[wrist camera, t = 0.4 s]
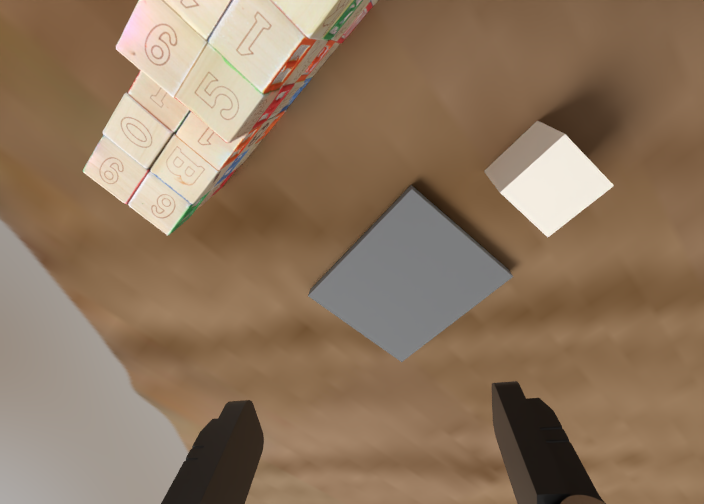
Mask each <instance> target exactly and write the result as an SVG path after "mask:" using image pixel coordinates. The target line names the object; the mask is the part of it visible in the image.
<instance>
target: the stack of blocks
mask: <svg viewBox="0 0 704 504" xmlns="http://www.w3.org/2000/svg"><path fill="white" fill-rule="evenodd" d="M377 1H378V0H138V2H137V4H136V6H135V9H134V11H133V13H132V15H131V17H130V19H129V21H128V23H127V25H126V26H125V29H124V31H123V33H122V35H121V37H120V39H119V41H118V43H117V45H116V50H117V51H119V52H120V53H121V54H122V55H123V56H125V57H126V58H127V59H128V60H129V61H131V62H132V63H133V64H134V65H135V66H136V67H138V68H139V69H140V71H139V73H138V75H137V77H136V78H135V80H134V82H133V83H132V85H131V87H130V89H129V91H128V92H126V93H125V94H124V96H123V97H122V99H121V101H120V102H119V104H118V106H117V108H116V109H115V111H114V113H113V115H112V116H111V118H110V120H109V122H108V123H107V125H106V127H105V129H104V130H103V137H102V138H101V140H100V141H99V143H98V145H97V146H96V148H95V150H94V152H93V153H92V155H91V156H90V158H89V160H88V162H87V164H86V165H85V167H84V169H83V172H84V173H85V174H86V175H88V176H89V177H90V178H92V179H93V180H94V181H95V182H97V183H98V184H99V185H101V186H102V187H103V188H105V189H106V190H107V191H109V192H110V193H111V194H112V195H114V196H115V197H116V198H118V199H119V200H120V201H122V202H123V203H125V204H128V205H129V206H130V207H131V208H132V209H134V210H135V211H136V212H137V213H139V214H140V215H141V216H143V217H144V218H145V219H147V220H148V221H149V222H151V223H152V224H153V225H155V226H156V227H157V228H159V229H160V230H161V231H163V232H164V233H165V234H167V235H170V234H171V233H172V232H173V231H175V230H176V229H177V228H178V227H179V226H181V225H182V224H183V223H184V222H185V221H186V220H188V219H189V218H190V216H191V215H192V214H193V213H194V211H196V210H197V209H198V208H199V207H201V206H202V205H203V204H204V203H205V202H206V201H207V200H208V199H209V198H210V197H211V196H213V195H214V194H215V193H216V192H217V191H219V190H220V189H221V188H222V187H223V185H224V184H225V183H226V182H227V180H228V179H229V178H230V177H231V175H232V174H233V173H234V172H235V170H236V169H237V168H238V167H239V166H240V165H241V164H243V162H244V161H245V160H246V159H247V158H248V156H249V155H250V154H251V153H252V151H253V150H254V149H255V148H256V147H257V145H258V144H259V143H260V142H261V141H262V139H263V138H264V137H265V136H266V135H267V133H268V132H269V131H270V130H271V129H272V127H273V126H274V125H275V124H276V123H277V121H278V120H279V119H280V118H281V117H282V115H283V114H284V113H285V112H286V110H287V108H288V106H289V105H290V104H291V103H292V102H293V100H294V99H295V98H296V97H297V96H298V94H299V93H300V92H301V91H302V90H303V88H304V87H305V86H306V85H307V84H308V82H309V81H310V80H311V78H312V77H313V76H314V75H315V74H316V72H317V71H318V70H319V69H320V67H321V66H322V65H323V64H324V63H325V61H326V60H327V59H328V58H329V57H330V55H331V54H332V53H333V52H334V51H335V49H336V48H337V47H338V46H339V44H340V43H342V42H343V41H344V40H345V39H346V38H347V37H348V35H349V34H350V33H351V32H352V31H353V29H354V28H355V27H356V26H357V24H358V23H359V22H360V21H361V20H362V19H363V17H364V16H365V15H366V14H367V13H368V11H369V10H370V9H371V8H372V7H373V6H374V5H375V4H376V3H377Z"/></svg>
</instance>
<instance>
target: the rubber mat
mask: <svg viewBox="0 0 704 504" xmlns="http://www.w3.org/2000/svg"><path fill="white" fill-rule="evenodd" d="M512 277H513V276H512V274H511V272H510V270H508V269H507V268H506V267H505V266H504V265H503V264H502V263H500V262H499V261H498V260H497V259H496V258H495V257H493V256H492V255H491V254H490V253H489V252H488V251H487V250H485V249H484V248H483V247H482V246H481V245H480V244H479V243H477V242H476V241H475V240H474V239H473V238H472V237H470V236H469V235H468V234H467V233H466V232H465V231H464V230H462V229H461V228H460V227H459V226H458V225H457V224H456V223H454V222H453V221H452V220H451V219H450V218H449V217H448V216H446V215H445V214H444V213H443V212H442V211H441V210H439V209H438V208H437V207H436V206H435V205H434V204H433V203H431V202H430V201H429V200H428V199H427V198H426V197H425V196H423V195H422V194H421V193H420V192H419V191H418V190H416V189H415V188H414V187H413V186H412V185H411V186H410V187H409V188H408V189H407V190H406V191H405V192H404V193H403V194H402V195H401V196H400V197H399V198H398V199H397V200H396V201H395V202H394V203H393V204H392V205H391V206H390V207H389V208H388V209H387V211H386V212H385V213H384V214H383V215H382V216H381V217H380V218H379V219H378V220H377V221H376V222H375V223H374V224H373V225H372V226H371V227H370V228H369V229H368V230H367V231H366V232H365V233H364V234H363V235H362V236H361V238H360V239H359V240H358V241H357V242H356V243H355V244H354V245H353V246H352V247H351V248H350V249H349V250H348V251H347V252H346V253H345V254H344V255H343V256H342V257H341V258H340V259H339V260H338V261H337V262H336V263H335V265H334V266H333V267H332V268H331V269H330V270H329V271H328V272H327V273H326V274H325V275H324V276H323V277H322V278H321V279H320V280H319V281H318V282H317V283H316V284H315V285H314V286H313V287H312V288H311V289H310V292H309V295H308V296H309V297H310V298H312V299H313V300H315V301H316V302H317V303H319V304H320V305H322V306H323V307H324V308H326V309H327V310H329V311H330V312H331V313H333V314H334V315H336V316H337V317H339V318H340V319H341V320H343V321H344V322H346V323H347V324H348V325H350V326H351V327H353V328H354V329H356V330H357V331H358V332H360V333H361V334H363V335H364V336H365V337H367V338H368V339H370V340H371V341H373V342H374V343H375V344H377V345H378V346H380V347H381V348H382V349H384V350H385V351H387V352H388V353H389V354H391V355H392V356H394V357H395V358H397V359H398V360H399V361H401V362H402V361H404V360H405V359H406V358H408V357H409V356H410V355H411V354H413V353H414V352H415V351H417V350H418V349H419V348H421V347H422V346H423V345H425V344H426V343H427V342H428V341H430V340H431V339H432V338H434V337H435V336H436V335H438V334H439V333H440V332H441V331H443V330H444V329H445V328H447V327H448V326H449V325H451V324H452V323H453V322H455V321H456V320H457V319H458V318H460V317H461V316H462V315H464V314H465V313H466V312H468V311H469V310H470V309H471V308H473V307H474V306H475V305H477V304H478V303H479V302H481V301H482V300H483V299H485V298H486V297H487V296H488V295H490V294H491V293H492V292H494V291H495V290H496V289H498V288H499V287H500V286H501V285H503V284H504V283H505V282H507V281H508V280H509V279H511V278H512Z"/></svg>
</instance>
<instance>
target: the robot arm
mask: <svg viewBox="0 0 704 504" xmlns="http://www.w3.org/2000/svg"><path fill="white" fill-rule="evenodd" d="M492 410H493V425H494V431H495V435H496V439H497V442H498V445H499V448H500V451H501V454H502V457H503V461H504V464H505V467H506V470H507V473H508V476H509V479H510V482H511V485H512V488H513V491H514V494H515V497H516V500H517V503H518V504H606V503H605V502H604V501H603V500H602V499H601V497H600V496H599V494H598V493H597V491H596V489H595V487H594V485H593V483H592V481H591V480H590V478H589V476H588V474H587V472H586V470H585V468H584V467H583V465H582V463H581V461H580V459H579V457H578V455H577V454H576V452H575V450H574V448H573V446H572V444H571V443H570V442H569V439H568V437H567V435H566V433H565V431H564V429H562V426H561V424H560V422H559V420H558V418H557V416H556V415H555V413H554V411H553V410H552V409H551V408H550V407H549V406H548V405H546V404H545V403H544V402H543V401H542V400H541V399H540V398H531V399H526V398H525V396H524V394H523V391H522V389H521V387H520V385H519V383H518V382H517V381H515V382H502V383H492ZM263 444H264V437H263V432H262V429H261V426H260V423H259V420H258V417H257V414H256V411H255V408H254V405H253V403H252V402H251V401H250V400H246V401H232V402H228V403H227V404H226V405H225V407H224V409H223V411H222V413H221V414H220V416H219V418H218V419H212V420H211V421H210V422H209V423H208V424H207V425H206V426H205V428H204V429H203V430H202V431H201V432H200V433H199V435H198V437H197V439H196V441H195V442H194V444H193V446H192V447H193V448H192V449H191V450H190V452H189V453H188V455H187V457H186V461H184V463H183V465H182V467H181V468H180V470H179V472H178V474H177V476H176V477H175V479H174V481H173V483H172V485H171V487H170V488H169V490H168V492H167V494H166V496H165V498H164V499H163V501H162V503H161V504H245V501H246V498H247V495H248V492H249V489H250V486H251V483H252V481H253V478H254V475H255V472H256V469H257V466H258V463H259V460H260V457H261V454H262V451H263Z"/></svg>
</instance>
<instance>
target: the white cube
mask: <svg viewBox="0 0 704 504" xmlns="http://www.w3.org/2000/svg"><path fill="white" fill-rule="evenodd" d="M484 172H485V174H486V175H487V176H488V177H489V179H490V180H491V181H492V183H493V184H494V185H495V187H496V188H497V189H498V191H499V192H500V193H501V194H502V195H503V196H504V197H505V198H506V199H507V200H509V201H510V202H511V203H512V204H513V205H514V206H515V207H516V208H517V209H518V210H519V211H520V212H521V213H522V214H523V215H525V216H526V217H527V218H528V219H529V220H530V221H531V222H532V223H533V224H534V225H535V226H536V227H537V228H538V229H539V230H541V231H542V232H543V233H544V234H545V235H546V236H547V237H549V236H550V235H552V234H553V233H554V232H555V231H557V230H558V229H559V228H561V227H562V226H563V225H564V224H566V223H567V222H568V221H569V220H571V219H572V218H573V217H575V216H576V215H577V214H578V213H580V212H581V211H582V210H584V209H585V208H586V207H587V206H589V205H590V204H591V203H592V202H594V201H595V200H596V199H598V198H599V197H600V196H601V195H603V194H604V193H605V192H607V191H608V190H609V189H610V188H612V187H613V186H614V185H613V184H612V183H611V182H610V181H609V180H608V179H607V178H606V177H605V176H604V175H603V174H602V173H601V172H600V170H599V169H598V168H597V167H596V166H595V165H594V164H593V163H592V162H591V161H590V160H589V159H588V158H587V157H586V156H585V155H584V153H583V152H582V151H581V150H580V149H579V148H578V147H577V146H576V145H575V144H574V143H573V142H572V141H571V140H570V139H569V138H568V136H567V135H566V134H564V133H562V132H560V131H558V130H556V129H554V128H552V127H550V126H548V125H546V124H544V123H542V122H539V121H536V122H535V123H534V124H533V125H532V126H531V127H530V128H529V129H528V130H527V131H526V132H525V133H524V134H523V135H522V136H521V137H520V138H518V139H517V140H516V141H515V142H514V143H513V144H512V145H511V146H510V147H509V148H508V149H507V150H506V151H505V152H504V153H503V154H502V155H501V156H500V157H498V158H497V159H496V160H495V161H494V162H493V163H492V164H491V165H490V166H489V167H488V168H487V169H486V170H485V171H484Z"/></svg>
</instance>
